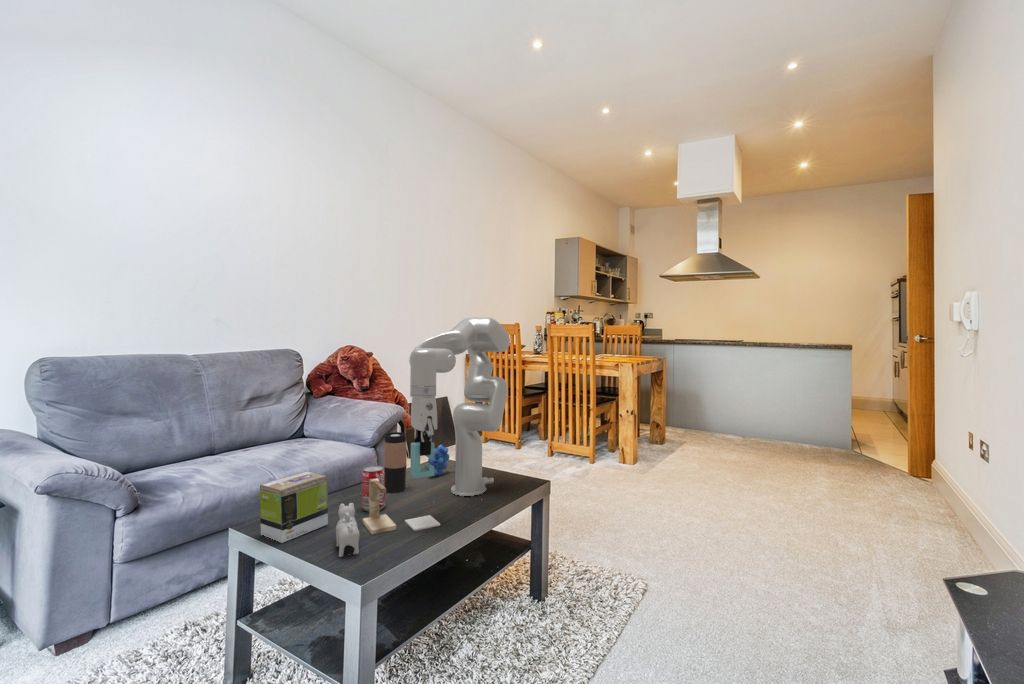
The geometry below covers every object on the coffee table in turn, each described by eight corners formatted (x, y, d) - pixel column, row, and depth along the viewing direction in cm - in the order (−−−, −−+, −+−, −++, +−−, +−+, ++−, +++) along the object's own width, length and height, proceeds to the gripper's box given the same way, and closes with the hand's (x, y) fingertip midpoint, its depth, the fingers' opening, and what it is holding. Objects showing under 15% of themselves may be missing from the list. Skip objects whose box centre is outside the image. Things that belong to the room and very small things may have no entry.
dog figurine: (354, 536, 134) (354, 498, 134) (361, 555, 123) (361, 513, 123) (333, 539, 132) (333, 500, 132) (339, 559, 120) (339, 516, 120)
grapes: (440, 470, 199) (440, 441, 199) (453, 473, 195) (453, 443, 195) (420, 477, 190) (420, 446, 190) (432, 480, 186) (432, 449, 186)
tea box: (306, 518, 147) (306, 470, 146) (328, 525, 142) (328, 475, 141) (258, 536, 134) (259, 482, 133) (281, 544, 129) (281, 489, 128)
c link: (429, 472, 146) (429, 440, 146) (434, 475, 143) (434, 443, 143) (410, 475, 143) (410, 442, 143) (414, 478, 140) (415, 445, 140)
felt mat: (429, 516, 149) (429, 515, 149) (440, 525, 142) (440, 523, 142) (404, 521, 145) (404, 520, 145) (414, 531, 138) (414, 529, 138)
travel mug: (380, 489, 175) (380, 433, 174) (399, 484, 180) (399, 431, 179) (390, 494, 169) (390, 437, 169) (409, 489, 174) (410, 434, 174)
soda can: (378, 513, 151) (378, 472, 151) (357, 511, 153) (357, 470, 152) (388, 505, 158) (389, 466, 158) (368, 503, 160) (368, 464, 159)
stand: (385, 517, 148) (385, 477, 148) (396, 529, 139) (396, 486, 139) (362, 521, 144) (362, 480, 144) (372, 534, 135) (372, 490, 135)
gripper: (446, 393, 138) (445, 458, 138) (424, 388, 152) (424, 446, 152) (421, 395, 134) (420, 461, 134) (401, 389, 148) (400, 449, 148)
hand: (422, 452), depth 143 cm, fingers closed on c link, 3 cm apart
